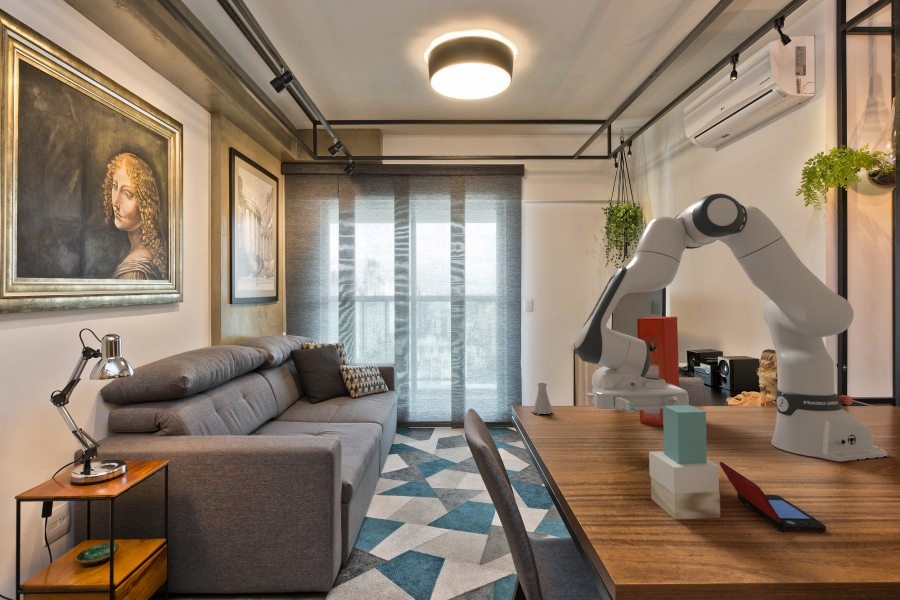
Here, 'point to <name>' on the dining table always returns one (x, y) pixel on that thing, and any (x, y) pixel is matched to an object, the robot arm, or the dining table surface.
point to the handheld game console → (772, 506)
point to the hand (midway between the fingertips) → (654, 406)
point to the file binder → (660, 357)
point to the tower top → (683, 474)
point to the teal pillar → (685, 434)
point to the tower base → (686, 502)
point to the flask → (542, 400)
